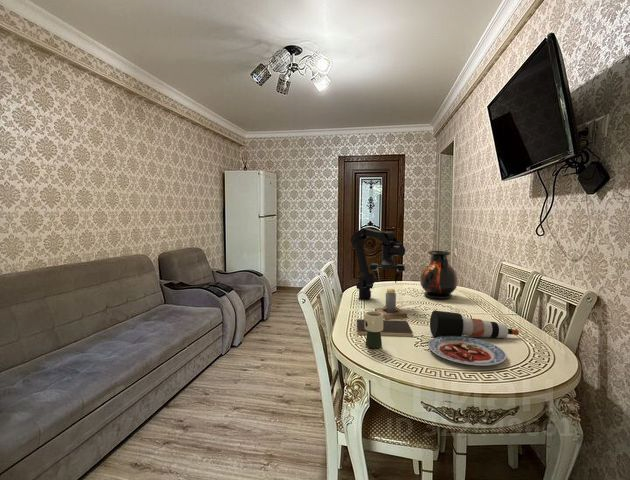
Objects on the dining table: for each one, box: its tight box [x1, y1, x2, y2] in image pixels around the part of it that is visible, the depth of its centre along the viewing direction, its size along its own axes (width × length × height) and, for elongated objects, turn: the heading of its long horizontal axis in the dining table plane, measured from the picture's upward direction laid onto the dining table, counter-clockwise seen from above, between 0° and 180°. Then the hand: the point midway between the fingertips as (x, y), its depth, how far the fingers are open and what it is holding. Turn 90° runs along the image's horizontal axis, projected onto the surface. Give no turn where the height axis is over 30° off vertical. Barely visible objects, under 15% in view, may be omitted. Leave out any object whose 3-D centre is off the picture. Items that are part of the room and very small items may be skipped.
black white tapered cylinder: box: [429, 309, 519, 339], centre depth 138 cm, size 10×34×10 cm, turn 84°
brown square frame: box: [374, 306, 408, 320], centre depth 169 cm, size 12×12×2 cm
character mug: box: [364, 310, 384, 349], centre depth 128 cm, size 11×7×13 cm, turn 168°
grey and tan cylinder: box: [385, 288, 397, 313], centre depth 168 cm, size 5×5×13 cm
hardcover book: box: [356, 318, 414, 337], centre depth 148 cm, size 16×23×2 cm
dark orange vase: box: [419, 250, 459, 301], centre depth 203 cm, size 22×22×28 cm
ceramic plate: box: [428, 335, 507, 367], centre depth 122 cm, size 26×26×3 cm
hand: (387, 282), depth 185 cm, fingers open, 9 cm apart
